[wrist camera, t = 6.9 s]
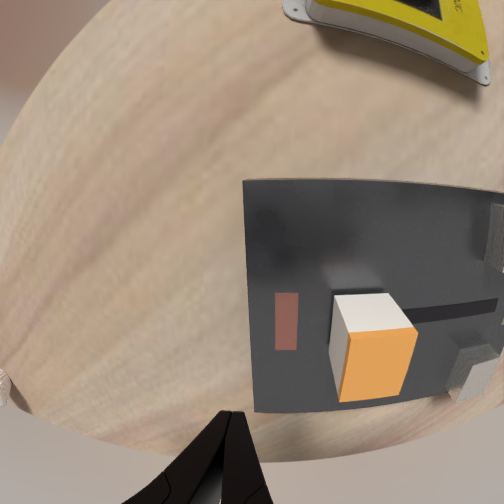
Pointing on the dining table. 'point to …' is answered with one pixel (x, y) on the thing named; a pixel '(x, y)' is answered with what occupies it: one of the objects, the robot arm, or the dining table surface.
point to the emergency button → (410, 27)
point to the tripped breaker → (369, 346)
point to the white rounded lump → (4, 388)
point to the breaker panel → (371, 282)
